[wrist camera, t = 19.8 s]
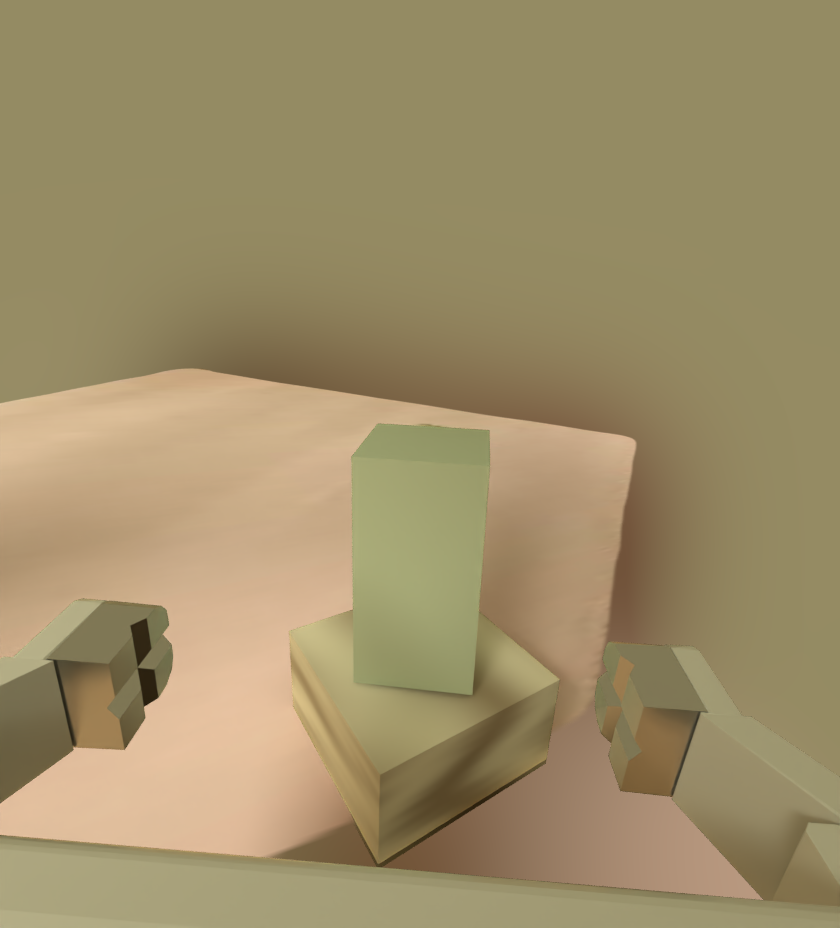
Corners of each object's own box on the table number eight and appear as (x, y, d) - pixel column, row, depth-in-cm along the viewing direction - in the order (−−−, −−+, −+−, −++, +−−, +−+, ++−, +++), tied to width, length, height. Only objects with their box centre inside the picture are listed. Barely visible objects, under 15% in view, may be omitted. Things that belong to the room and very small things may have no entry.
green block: (353, 682, 23) (351, 456, 19) (376, 613, 27) (377, 423, 24) (472, 695, 22) (489, 465, 19) (474, 623, 27) (489, 430, 24)
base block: (378, 869, 21) (379, 775, 19) (293, 711, 28) (288, 631, 26) (545, 763, 25) (560, 679, 23) (437, 651, 32) (441, 579, 30)
